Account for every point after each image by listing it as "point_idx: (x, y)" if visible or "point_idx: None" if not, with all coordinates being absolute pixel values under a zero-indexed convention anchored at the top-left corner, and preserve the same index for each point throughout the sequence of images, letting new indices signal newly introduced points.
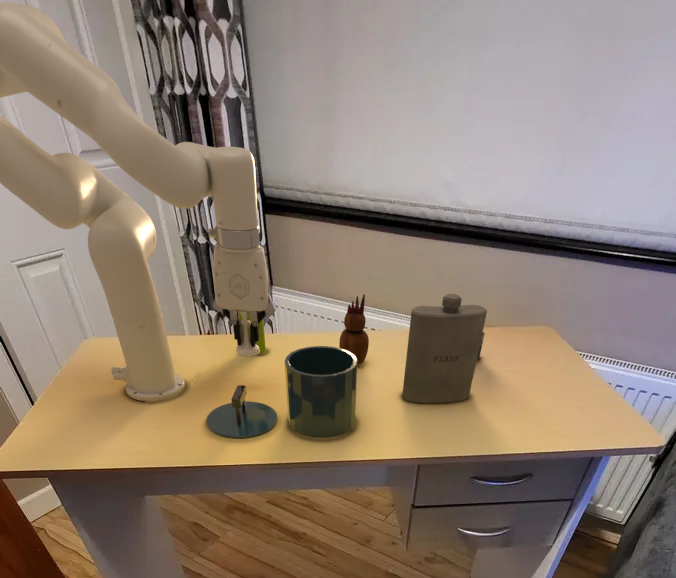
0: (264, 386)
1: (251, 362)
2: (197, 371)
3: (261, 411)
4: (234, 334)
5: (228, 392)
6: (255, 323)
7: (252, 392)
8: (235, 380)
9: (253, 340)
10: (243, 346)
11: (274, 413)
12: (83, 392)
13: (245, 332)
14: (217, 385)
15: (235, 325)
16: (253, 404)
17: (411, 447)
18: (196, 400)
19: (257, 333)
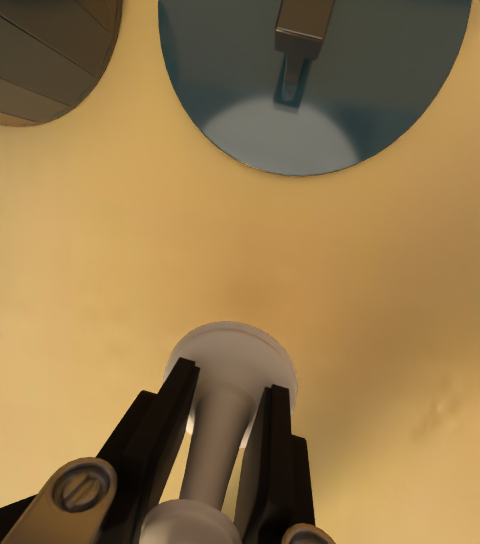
0: (203, 317)
1: (237, 482)
2: (423, 461)
3: (221, 70)
4: (305, 461)
5: (334, 295)
6: (76, 484)
7: (248, 281)
8: (300, 376)
9: (170, 379)
10: (251, 388)
11: (169, 43)
12: None
13: (215, 457)
14: (367, 353)
15: (293, 527)
16: (250, 139)
17: None
18: (463, 253)
19: (120, 423)
